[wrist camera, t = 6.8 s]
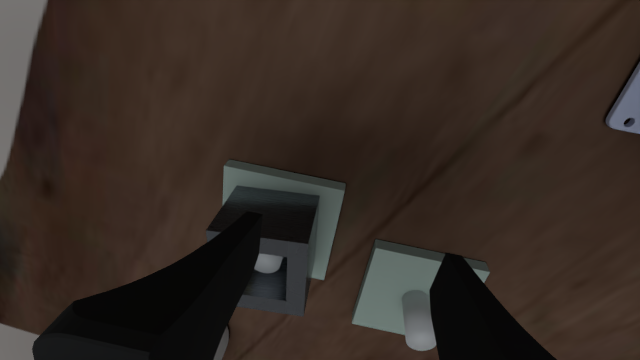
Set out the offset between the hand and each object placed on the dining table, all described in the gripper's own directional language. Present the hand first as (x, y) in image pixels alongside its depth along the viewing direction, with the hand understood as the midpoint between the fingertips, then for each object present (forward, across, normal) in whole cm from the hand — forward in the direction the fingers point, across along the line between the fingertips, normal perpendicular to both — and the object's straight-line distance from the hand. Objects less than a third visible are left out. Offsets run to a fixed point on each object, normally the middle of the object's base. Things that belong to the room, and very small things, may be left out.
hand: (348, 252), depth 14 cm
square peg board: (+10, -7, +10) cm, 16 cm away
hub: (+9, +4, +6) cm, 12 cm away
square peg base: (+10, +4, +6) cm, 12 cm away
